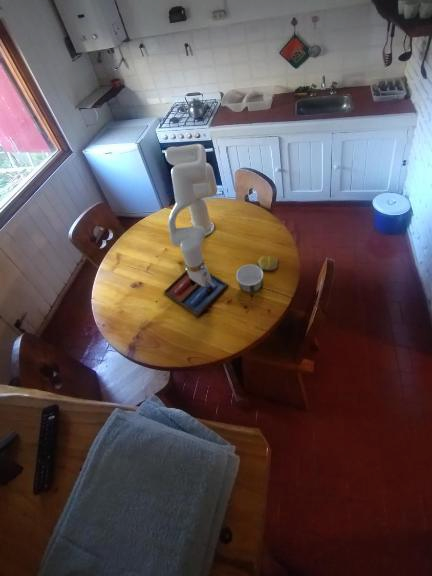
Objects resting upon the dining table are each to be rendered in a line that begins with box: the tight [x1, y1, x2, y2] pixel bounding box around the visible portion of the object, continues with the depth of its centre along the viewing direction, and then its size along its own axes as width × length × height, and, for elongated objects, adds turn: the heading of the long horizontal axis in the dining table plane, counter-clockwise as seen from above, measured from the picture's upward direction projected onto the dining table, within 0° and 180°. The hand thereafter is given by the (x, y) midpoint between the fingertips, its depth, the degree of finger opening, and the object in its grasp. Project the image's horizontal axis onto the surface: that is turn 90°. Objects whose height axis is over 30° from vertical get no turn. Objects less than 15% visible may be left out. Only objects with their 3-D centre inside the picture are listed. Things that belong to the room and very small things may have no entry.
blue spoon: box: [191, 281, 217, 306], centre depth 156 cm, size 16×4×2 cm, turn 139°
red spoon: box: [174, 278, 191, 295], centre depth 162 cm, size 16×4×2 cm, turn 139°
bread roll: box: [257, 255, 279, 271], centre depth 164 cm, size 8×9×4 cm
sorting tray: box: [163, 270, 229, 318], centre depth 160 cm, size 22×20×2 cm
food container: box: [235, 264, 264, 293], centre depth 156 cm, size 12×12×6 cm
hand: (202, 288), depth 155 cm, fingers open, 9 cm apart
